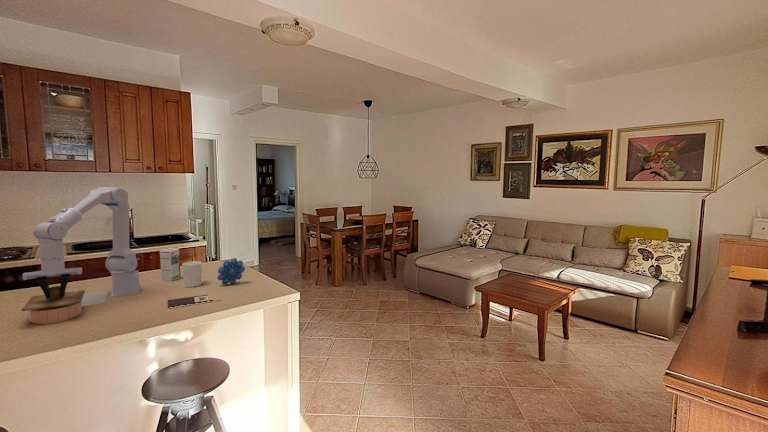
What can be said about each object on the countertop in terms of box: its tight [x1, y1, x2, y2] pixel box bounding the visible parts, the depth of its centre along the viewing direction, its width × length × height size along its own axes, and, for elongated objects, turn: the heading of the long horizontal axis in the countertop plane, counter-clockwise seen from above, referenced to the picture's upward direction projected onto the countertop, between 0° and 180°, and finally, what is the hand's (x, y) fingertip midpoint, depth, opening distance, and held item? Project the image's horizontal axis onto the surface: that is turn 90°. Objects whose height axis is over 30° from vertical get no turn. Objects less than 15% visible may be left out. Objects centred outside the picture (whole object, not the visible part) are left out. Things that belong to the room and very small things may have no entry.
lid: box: [21, 285, 86, 312], centre depth 120 cm, size 14×14×5 cm
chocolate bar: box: [167, 294, 213, 309], centre depth 138 cm, size 9×1×18 cm
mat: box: [82, 290, 108, 307], centre depth 136 cm, size 17×17×1 cm
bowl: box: [28, 301, 83, 325], centre depth 120 cm, size 13×13×4 cm
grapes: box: [216, 257, 246, 285], centre depth 162 cm, size 12×7×12 cm, turn 122°
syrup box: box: [159, 247, 182, 282], centre depth 167 cm, size 6×6×14 cm
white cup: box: [181, 260, 203, 288], centre depth 159 cm, size 8×8×10 cm
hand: (55, 297), depth 120 cm, fingers closed on lid, 3 cm apart
